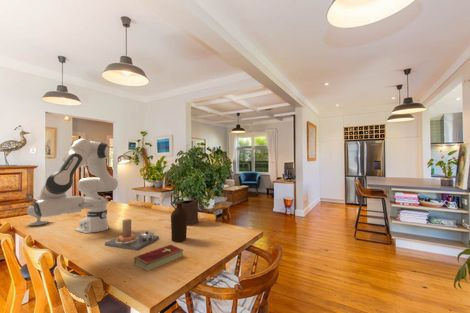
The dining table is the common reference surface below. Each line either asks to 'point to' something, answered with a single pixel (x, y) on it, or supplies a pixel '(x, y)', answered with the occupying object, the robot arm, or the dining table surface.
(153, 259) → the hardcover book
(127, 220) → the gear
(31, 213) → the chalice
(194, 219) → the cup holder
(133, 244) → the carrier plate
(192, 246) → the dining table surface
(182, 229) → the olive oil
